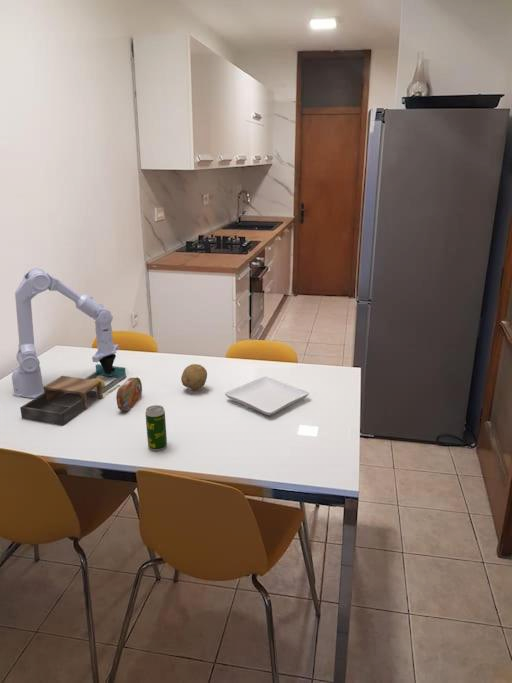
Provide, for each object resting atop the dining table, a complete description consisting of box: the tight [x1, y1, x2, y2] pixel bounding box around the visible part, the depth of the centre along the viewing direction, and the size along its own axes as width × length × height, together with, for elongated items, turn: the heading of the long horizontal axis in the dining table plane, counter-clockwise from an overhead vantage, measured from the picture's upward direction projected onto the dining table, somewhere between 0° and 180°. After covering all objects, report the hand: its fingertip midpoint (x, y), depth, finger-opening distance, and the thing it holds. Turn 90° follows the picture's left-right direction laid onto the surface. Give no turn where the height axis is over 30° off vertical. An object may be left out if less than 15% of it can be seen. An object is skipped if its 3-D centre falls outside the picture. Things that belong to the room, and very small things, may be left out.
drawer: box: [84, 363, 127, 398], centre depth 194 cm, size 12×19×4 cm, turn 162°
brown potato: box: [180, 363, 208, 392], centre depth 188 cm, size 9×9×10 cm
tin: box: [115, 376, 143, 412], centre depth 178 cm, size 15×3×8 cm, turn 168°
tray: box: [19, 375, 121, 426], centre depth 181 cm, size 16×32×6 cm, turn 162°
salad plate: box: [224, 376, 310, 416], centre depth 181 cm, size 21×21×3 cm
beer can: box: [144, 404, 168, 452], centre depth 151 cm, size 5×5×12 cm
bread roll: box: [91, 377, 106, 390], centre depth 191 cm, size 8×9×4 cm
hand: (108, 373), depth 200 cm, fingers closed
